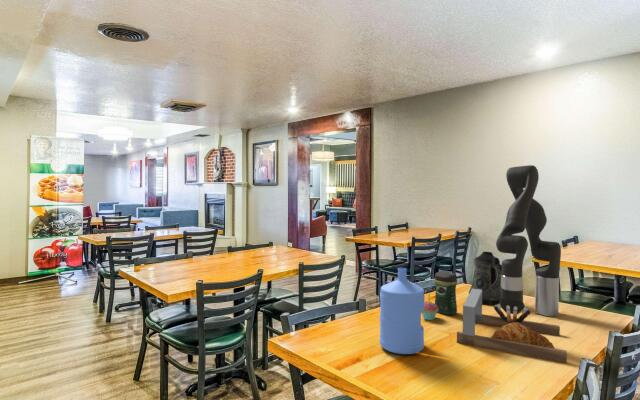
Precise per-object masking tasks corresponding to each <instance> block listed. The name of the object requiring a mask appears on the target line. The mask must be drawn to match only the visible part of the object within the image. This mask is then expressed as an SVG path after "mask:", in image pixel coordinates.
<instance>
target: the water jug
mask: <svg viewBox="0 0 640 400" xmlns="http://www.w3.org/2000/svg"><path fill="white" fill-rule="evenodd" d="M407 271H408V269H407V268H406V267H399V268H398V267H397V279H395V280H392V281H390V282H388V283H386V284H383V285H382V286H380V292H379V300H380V306H379V307H380V312H379V313H380V314H379V322H380V323H379V345H380V346H381V347H382V348H383V349H385V350H386V351H388V352H391V353H393V354H398V355H413V354H417V353H420V352H421V351H423V349H424V348H425V347H424V346H425V340H424V339H425V338H424V337H425V335H424V334H425V333H424V332H425V331H424V330H425V329H424V326H423V325H422V322H421V321H422V311H423V310H424V302H425V298H426V297H425V289H424V288H423V287H421V286H419V285H417V284H416V283H414V282H411V281H410V280H408V279H407V278H408V277H407V276H408V273H407Z"/></svg>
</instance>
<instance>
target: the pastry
mask: <svg viewBox="0 0 640 400" xmlns="http://www.w3.org/2000/svg"><path fill="white" fill-rule="evenodd" d="M490 338H496V339H502V340H507V341H513V342H519V343H525V344H530V345H536V346H542V347H548V348H553V349H555V346H554V344H553V342H550V339H549V338H547V337H546V336H545V335H543V334H541V333H539V332H536V331H534V330H531V329H530V328H529V327H527V326H524V325H522V324H520V323H518V322H517V323H509V324H507V325H504V326H502V327H501V326H500V327H499V328H498V329H496V330H495V331H494V332H493V334H492V335H491V337H490Z"/></svg>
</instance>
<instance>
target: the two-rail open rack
mask: <svg viewBox="0 0 640 400" xmlns="http://www.w3.org/2000/svg"><path fill="white" fill-rule="evenodd" d="M511 321H512V322H513V318H511ZM476 323H477V324H483V325H490V326H496V327H500V328H501V327H502V326H504V325H507V324H508V322H507V321H504V320H502V318H501V317H500V316H499V315H498V316H497V315H489V314H483V304H482V290H480V289H472V290H471V292H470V294H469V293H468V296H467V297H466V299H465V302H464V304H462V332H460V331H457V333H456V343H458V344H463V345H469V346H473V347H479V348H485V349H489V350H494V351H500V352H505V353H510V354H516V355H517V354H518V355H521V356H527V357H531V358H537V359H543V360H548V361H554V362H558V363H564V364H567V363H568V354H567V353H568V352H567V350H563V349H557V348H554V349H553V348H548V347H542V346H536V345H530V344H525V343H519V342H513V341H507V340H502V339H496V338H491V337H490V336H483V335H478V334H476ZM520 324H522V325H524V326H527V327H529V328H530V329H531V330H534V331H536V332H538V333H539V334H545V335H552V336H557V337H560V335H561V331H560V330H561V327H560V325H556V324H550V323H543V322H536V321H532V320H531V321H530V320H525V319H524V320H523V321H522V322H521V323H520Z"/></svg>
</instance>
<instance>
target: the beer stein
mask: <svg viewBox="0 0 640 400" xmlns="http://www.w3.org/2000/svg"><path fill="white" fill-rule="evenodd" d="M500 263H501V261H500V258H498V257H496V256H495V255H494V254H493V252H491V251H482V252H481V254H479V255H478V256H476V257H475V258H474V259H473V264H474V270H473V275H472V282H471V285H470V287H469V290H468V295H469V294H470V292H471V290H472V289H480V290H482V305H487V306H488V305H489V306H490V305H491V306H495V305H498V304H499V303H500V300H501V277H502V263H501V264H500Z"/></svg>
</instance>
